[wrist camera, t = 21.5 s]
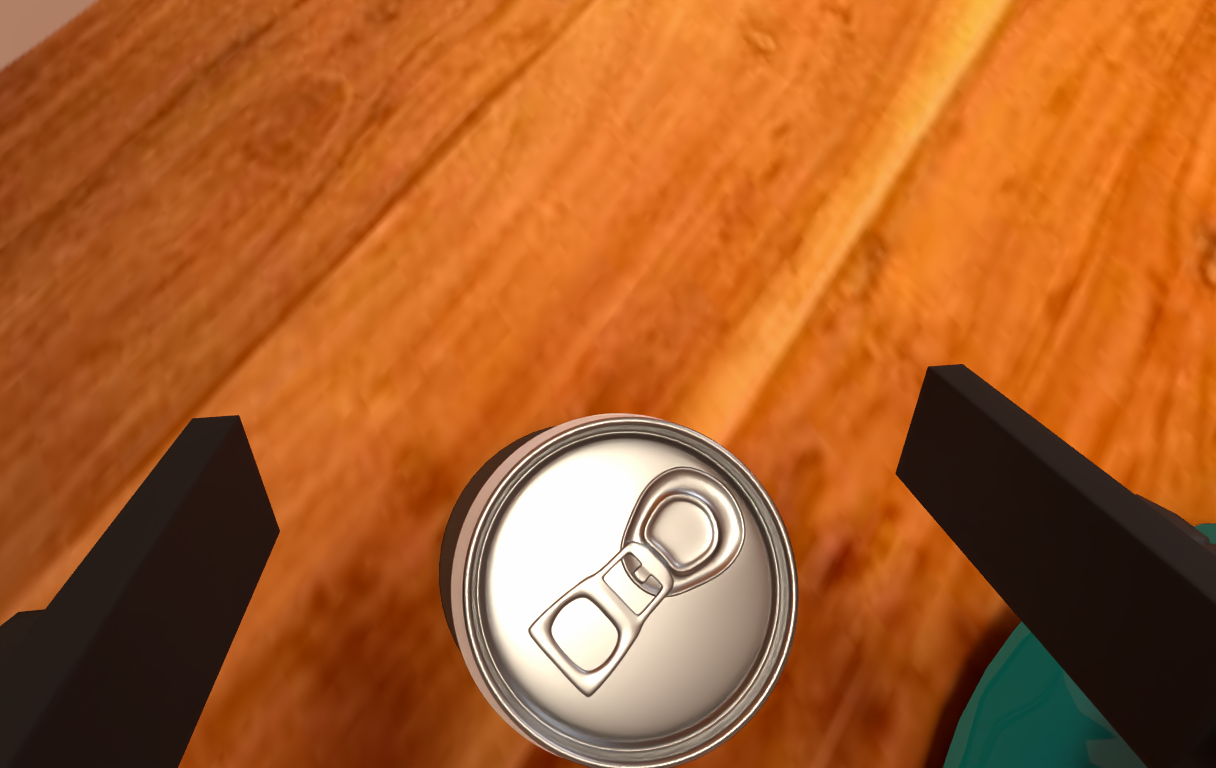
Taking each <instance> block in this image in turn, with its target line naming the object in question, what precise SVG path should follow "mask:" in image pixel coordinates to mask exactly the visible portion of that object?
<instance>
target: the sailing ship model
mask: <svg viewBox="0 0 1216 768" xmlns="http://www.w3.org/2000/svg"><path fill="white" fill-rule="evenodd" d="M1194 527H1195V528H1196V529H1197V530H1199V531H1200V532H1201V533H1203V534H1204V535H1205V536H1207V537H1208V538H1209V539H1210V543H1211V544H1216V524H1201V525H1197V526H1194ZM943 768H1147V767H1146V765H1145V764H1144V763H1143V762H1142V761H1141V760H1140V758H1139V757H1138V756H1137V755H1136V754H1135V753H1134V751H1133V750H1132V749H1131V748H1130V747H1129V746H1128V744H1127V743H1126V742H1125V741H1124V740H1123V739H1122V737H1121V736H1120V735H1119V734H1118V733H1117V732H1116V730H1115V729H1114V728H1113V727H1112V726H1111V725H1110V723H1109V722H1108V721H1107V720H1106V719H1105V718H1104V716H1103V715H1102V714H1101V713H1100V712H1099V711H1098V709H1097V708H1096V707H1095V706H1094V705H1093V704H1092V702H1091V701H1090V700H1089V699H1088V698H1087V697H1086V695H1085V694H1084V693H1083V692H1082V691H1081V690H1080V688H1079V687H1078V686H1077V685H1076V684H1075V683H1074V681H1073V680H1072V679H1071V678H1070V677H1069V676H1068V674H1067V673H1066V672H1065V671H1064V670H1063V669H1062V667H1061V666H1060V665H1059V664H1058V663H1057V662H1056V660H1055V659H1054V658H1053V657H1052V656H1051V655H1050V653H1049V652H1048V651H1047V650H1046V649H1045V648H1044V646H1043V645H1042V644H1041V643H1040V642H1039V641H1038V639H1037V638H1036V637H1035V636H1034V635H1033V634H1032V632H1031V631H1030V630H1029V629H1028V628H1027V627H1026V625H1025V624H1024V623H1023V622H1021V623H1020V624H1019V625H1018V626H1017V627H1016V629H1015V630H1014V631H1013V632H1012V634H1011V635H1010V636H1009V638H1008V639H1007V641H1006V642H1005V643H1004V645H1003V646H1002V648H1001V649H1000V650H999V652H998V653H997V655H996V656H995V657H994V659H993V660H992V662H991V663H990V664H989V666H988V667H987V668H986V670H985V672H984V674H983V676H982V678H981V680H980V681H979V683H978V685H977V687H976V689H975V691H974V693H973V695H972V697H971V699H970V700H969V702H968V704H967V706H966V708H965V710H964V712H963V714H962V716H961V718H960V719H959V722H958V725H957V728H956V731H955V733H954V736H953V739H952V742H951V745H950V748H949V751H948V754H947V757H946V760H945V763H944V766H943Z"/></svg>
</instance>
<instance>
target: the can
mask: <svg viewBox="0 0 1216 768" xmlns="http://www.w3.org/2000/svg"><path fill="white" fill-rule="evenodd" d="M451 604H452V614H453V621H454V627H455V632H456V636H457V640H458V643H459V646H460V650H461V652H462V655H463V658H464V660H465V663H466V665H467V667H468V670H469V672H470V674H471V676H472V678H473V679H474V681H475V683H476V685H477V686H478V688H479V690H480V691H481V693H482V694H483V696H484V697H485V699H486V700H487V701H488V702H489V704H490V705H491V706H492V708H493V709H494V710H495V711H496V712H497V713H498V714H499V715H500V717H501V718H502V719H503V720H504V721H505V722H506V723H507V724H509V725H510V726H511V727H512V728H513V729H514V730H515V731H517V732H518V733H519V734H520V735H522V736H523V737H524V738H526V739H527V740H529V741H530V742H532V743H533V744H535V745H537V746H538V747H540V748H542V749H544V750H546V751H548V752H550V753H552V754H554V755H556V756H559V757H561V758H564V759H567V760H569V761H571V762H574V763H577V764H580V765H582V766H586V767H589V768H673V767H676V766H680V765H683V764H685V763H688V762H691V761H693V760H696V759H698V758H700V757H702V756H704V755H706V754H708V753H709V752H711V751H713V750H715V749H716V748H718V747H719V746H721V745H722V744H724V743H725V742H727V741H728V740H729V739H730V738H732V737H733V736H734V735H735V734H737V733H738V732H739V731H740V730H741V729H742V728H743V727H744V726H745V725H746V724H747V723H748V722H749V721H750V720H751V719H752V718H753V717H754V716H755V714H756V713H757V712H758V711H759V710H760V708H761V707H762V706H763V704H764V703H765V701H766V700H767V699H768V697H769V696H770V694H771V692H772V691H773V689H774V687H775V685H776V684H777V682H778V680H779V678H780V676H781V674H782V671H783V669H784V667H785V664H786V662H787V659H788V656H789V653H790V650H791V646H792V643H793V639H794V634H795V629H796V623H797V615H798V577H797V569H796V562H795V557H794V553H793V548H792V545H791V541H790V538H789V535H788V532H787V530H786V527H785V524H784V522H783V520H782V517H781V515H780V513H779V511H778V509H777V507H776V506H775V504H774V502H773V500H772V499H771V497H770V495H769V494H768V492H767V491H766V489H765V488H764V487H763V485H762V484H761V483H760V481H759V480H758V479H757V478H756V476H755V475H754V474H753V473H752V472H751V471H750V470H749V469H748V468H747V467H746V465H745V464H743V463H742V462H741V461H740V460H739V459H738V458H737V457H736V456H735V455H733V454H732V453H731V452H730V451H728V450H727V449H726V448H724V447H723V446H722V445H720V444H719V443H717V442H715V441H714V440H712V439H710V438H709V437H707V436H705V435H703V434H701V433H699V432H697V431H695V430H693V429H690V428H688V427H685V426H682V425H679V424H676V423H673V422H669V421H666V420H662V419H659V418H655V417H650V416H644V415H637V414H624V413H615V414H600V415H593V416H588V417H583V418H579V419H575V420H572V421H569V422H566V423H563V424H561V425H558V426H556V427H553V428H551V429H549V430H547V431H545V432H543V433H541V434H540V435H538V436H536V437H534V438H533V439H531V440H530V441H528V442H527V443H525V444H524V445H523V446H521V447H520V448H519V449H517V450H516V451H515V452H514V453H513V454H511V455H510V456H509V457H508V458H507V459H506V460H505V461H504V462H503V463H502V464H501V465H500V466H499V467H498V468H497V469H496V471H495V472H494V473H493V474H492V475H491V477H490V478H489V479H488V480H487V482H486V483H485V485H484V486H483V487H482V489H481V490H480V492H479V494H478V495H477V497H476V499H475V500H474V502H473V504H472V506H471V508H470V510H469V512H468V514H467V516H466V519H465V521H464V524H463V526H462V529H461V532H460V535H459V539H458V542H457V546H456V550H455V555H454V560H453V567H452V577H451Z"/></svg>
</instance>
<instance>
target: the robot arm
mask: <svg viewBox="0 0 1216 768" xmlns="http://www.w3.org/2000/svg"><path fill="white" fill-rule="evenodd" d="M896 475H897V476H898V477H899V479H900V480H901V481H902V482H903V483H904V484H905V486H906V487H907V488H908V489H909V490H910V491H911V493H912V494H913V495H914V496H915V497H916V498H917V500H918V501H919V502H920V503H921V504H922V505H923V507H924V508H925V509H926V510H927V511H928V512H929V514H930V515H931V516H932V517H933V518H934V519H935V521H936V522H937V523H938V524H939V525H940V526H941V528H942V529H943V530H944V531H945V532H946V533H947V535H948V536H949V537H950V538H951V539H952V540H953V541H954V543H955V544H956V545H957V546H958V547H959V548H960V550H961V551H962V552H963V553H964V554H965V555H966V557H967V558H968V559H969V560H970V561H971V562H972V564H973V565H974V566H975V567H976V568H977V569H978V571H979V572H980V573H981V574H982V575H983V576H984V578H985V579H986V580H987V581H988V582H989V583H990V585H991V586H992V587H993V588H994V589H995V590H996V592H997V593H998V594H999V595H1000V596H1001V597H1002V599H1003V600H1004V601H1005V602H1006V603H1007V604H1008V606H1009V607H1010V608H1011V609H1012V610H1013V611H1014V613H1015V614H1016V615H1017V616H1018V617H1019V618H1020V620H1021V621H1022V622H1023V623H1024V624H1025V625H1026V627H1027V628H1028V629H1029V630H1030V631H1031V632H1032V634H1033V635H1034V636H1035V637H1036V638H1037V639H1038V641H1039V642H1040V643H1041V644H1042V645H1043V646H1044V648H1045V649H1046V650H1047V651H1048V652H1049V653H1050V655H1051V656H1052V657H1053V658H1054V659H1055V660H1056V662H1057V663H1058V664H1059V665H1060V666H1061V667H1062V669H1063V670H1064V671H1065V672H1066V673H1067V674H1068V676H1069V677H1070V678H1071V679H1072V680H1073V681H1074V683H1075V684H1076V685H1077V686H1078V687H1079V688H1080V690H1081V691H1082V692H1083V693H1084V694H1085V695H1086V697H1087V698H1088V699H1089V700H1090V701H1091V702H1092V704H1093V705H1094V706H1095V707H1096V708H1097V709H1098V711H1099V712H1100V713H1101V714H1102V715H1103V716H1104V718H1105V719H1106V720H1107V721H1108V722H1109V723H1110V725H1111V726H1112V727H1113V728H1114V729H1115V730H1116V732H1117V733H1118V734H1119V735H1120V736H1121V737H1122V739H1123V740H1124V741H1125V742H1126V743H1127V744H1128V746H1129V747H1130V748H1131V749H1132V750H1133V751H1134V753H1135V754H1136V755H1137V756H1138V757H1139V758H1140V760H1141V761H1142V762H1143V763H1144V764H1145V765H1146V767H1147V768H1216V544H1211V543H1210V539H1209V538H1208V537H1207V536H1205V535H1204V534H1203V533H1201V532H1200V531H1199V530H1197V529H1196V528H1195V527H1193V526H1192V525H1190V524H1189V523H1188V522H1186V521H1185V520H1184V519H1182V518H1181V517H1180V516H1178V515H1177V514H1175V513H1173V512H1171V511H1169V510H1167V509H1165V508H1163V507H1161V506H1159V505H1157V504H1155V503H1153V502H1151V501H1149V500H1147V499H1145V498H1143V497H1142V496H1140V495H1138V494H1136V495H1135V494H1133V493H1132V492H1131V491H1129V490H1128V489H1127V488H1125V487H1124V486H1123V485H1121V484H1120V483H1119V482H1117V481H1116V480H1115V479H1114V478H1112V477H1111V476H1110V475H1108V474H1107V473H1106V472H1104V471H1103V470H1102V469H1100V468H1099V467H1098V466H1096V465H1095V464H1094V463H1092V462H1091V461H1090V460H1088V459H1087V458H1086V457H1084V456H1083V455H1082V454H1081V453H1079V452H1078V451H1077V450H1075V449H1074V448H1073V447H1071V446H1070V445H1069V444H1067V443H1066V442H1065V441H1063V440H1062V439H1061V438H1059V437H1058V436H1057V435H1055V434H1054V433H1053V432H1051V431H1050V430H1049V429H1048V428H1046V427H1045V426H1044V425H1042V424H1041V423H1040V422H1038V421H1037V420H1036V419H1034V418H1033V417H1032V416H1030V415H1029V414H1028V413H1026V412H1025V411H1024V410H1022V409H1021V408H1020V407H1018V406H1017V405H1016V404H1015V403H1013V402H1012V401H1011V400H1009V399H1008V398H1007V397H1005V396H1004V395H1003V394H1001V393H1000V392H999V391H997V390H996V389H995V388H993V387H992V386H991V385H989V384H988V383H987V382H985V381H984V380H983V379H982V378H980V377H979V376H978V375H976V374H975V373H974V372H972V371H971V370H970V369H968V368H967V367H966V366H964V365H963V364H958V365H944V366H929V367H928V368H927V371H926V375H925V378H924V381H923V385H922V388H921V391H920V394H919V398H918V401H917V404H916V408H915V411H914V414H913V418H912V421H911V424H910V427H909V431H908V434H907V437H906V441H905V444H904V447H903V451H902V454H901V457H900V460H899V464H898V467H897V470H896ZM279 532H280V530H279V527H278V524H277V521H276V519H275V516H274V513H273V510H272V507H271V504H270V502H269V499H268V496H267V493H266V490H265V487H264V485H263V482H262V479H261V476H260V473H259V470H258V468H257V465H256V462H255V459H254V456H253V453H252V451H251V448H250V445H249V442H248V439H247V436H246V434H245V431H244V428H243V425H242V422H241V419H240V417H239V415H235V416H221V417H207V418H193V419H192V420H191V421H190V422H189V423H188V425H187V426H186V427H185V429H184V430H183V431H182V433H181V434H180V435H179V436H178V438H177V439H176V440H175V442H174V443H173V444H172V446H171V447H170V448H169V449H168V451H167V452H166V453H165V455H164V456H163V457H162V459H161V460H160V461H159V462H158V464H157V465H156V466H155V468H154V469H153V470H152V471H151V473H150V474H149V475H148V477H147V478H146V479H145V481H144V482H143V483H142V484H141V486H140V487H139V488H138V490H137V491H136V492H135V494H134V495H133V496H132V497H131V499H130V500H129V501H128V503H127V504H126V505H125V507H124V508H123V509H122V510H121V512H120V513H119V514H118V516H117V517H116V518H115V519H114V521H113V522H112V523H111V525H110V526H109V527H108V529H107V530H106V531H105V532H104V534H103V535H102V536H101V538H100V539H99V540H98V542H97V543H96V544H95V545H94V547H93V548H92V549H91V551H90V552H89V553H88V555H87V556H86V557H85V558H84V560H83V561H82V562H81V564H80V565H79V566H78V568H77V569H76V570H75V571H74V573H73V574H72V575H71V577H70V578H69V579H68V580H67V582H66V583H65V584H64V586H63V587H62V588H61V590H60V591H59V592H58V593H57V595H56V596H55V597H54V599H53V600H52V601H51V603H50V604H49V605H48V606H47V608H46V609H44V610H35V611H25V612H18V613H17V614H15V615H14V616H13V617H11V618H10V619H9V620H8V621H6V622H5V623H4V624H3V625H1V626H0V768H178V766H179V764H180V762H181V759H182V757H183V755H184V752H185V750H186V748H187V745H188V743H189V741H190V738H191V736H192V734H193V732H194V729H195V727H196V725H197V722H198V720H199V718H200V715H201V713H202V711H203V708H204V706H205V704H206V701H207V699H208V697H209V694H210V692H211V690H212V688H213V685H214V683H215V681H216V678H217V676H218V674H219V671H220V669H221V667H222V664H223V662H224V660H225V657H226V655H227V653H228V650H229V648H230V646H231V644H232V641H233V639H234V637H235V634H236V632H237V630H238V627H239V625H240V623H241V620H242V618H243V616H244V613H245V611H246V609H247V607H248V604H249V602H250V600H251V597H252V595H253V593H254V590H255V588H256V586H257V583H258V581H259V579H260V576H261V574H262V572H263V569H264V567H265V565H266V563H267V560H268V558H269V556H270V553H271V551H272V549H273V546H274V544H275V542H276V539H277V537H278V535H279Z"/></svg>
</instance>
